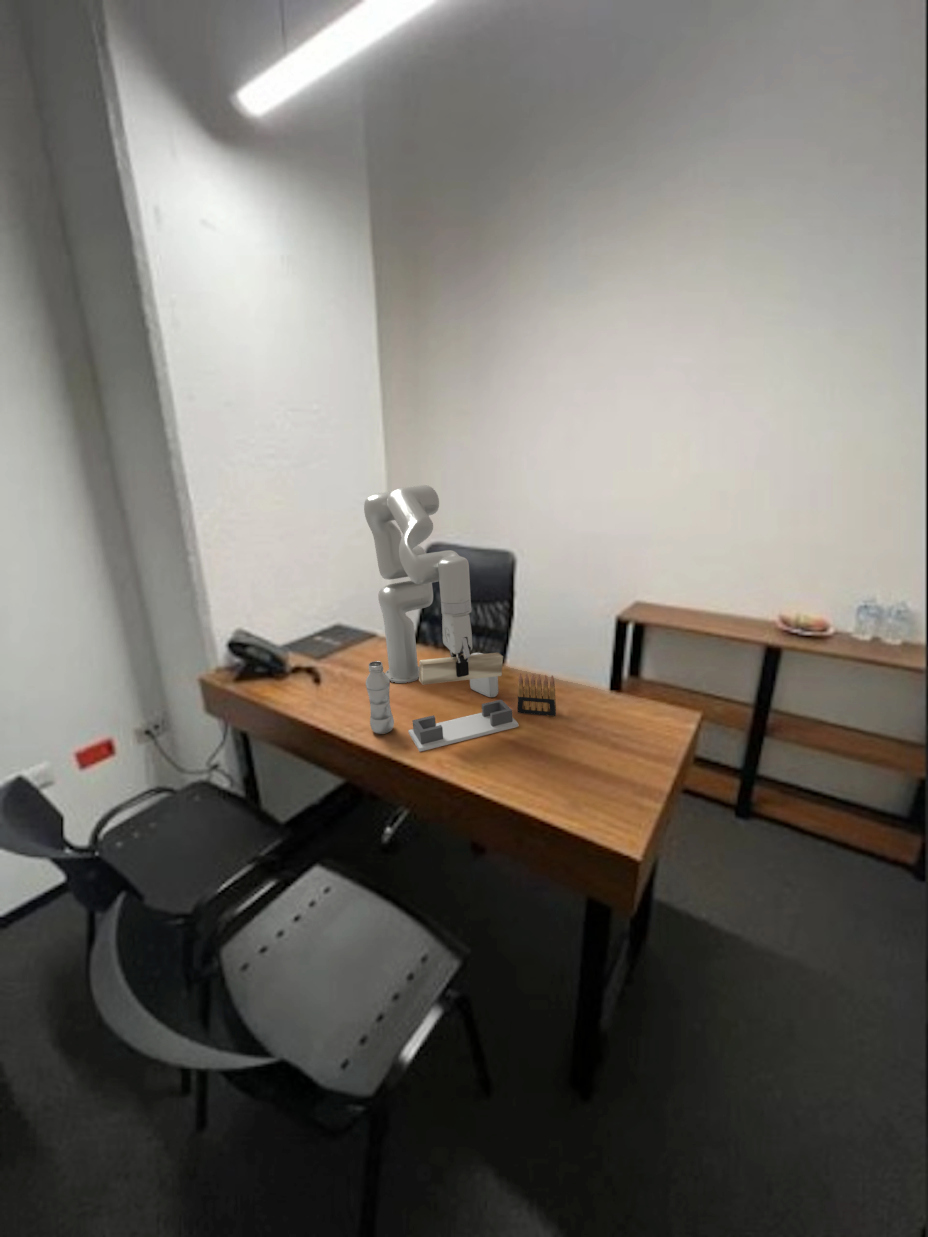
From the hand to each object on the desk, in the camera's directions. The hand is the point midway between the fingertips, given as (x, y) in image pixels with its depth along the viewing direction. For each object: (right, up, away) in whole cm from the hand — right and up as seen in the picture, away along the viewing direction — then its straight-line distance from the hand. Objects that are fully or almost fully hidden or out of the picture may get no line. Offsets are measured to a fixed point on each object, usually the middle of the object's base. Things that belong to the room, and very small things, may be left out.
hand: (460, 672), depth 148 cm
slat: (0, -1, +1) cm, 1 cm away
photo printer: (+7, -9, +27) cm, 29 cm away
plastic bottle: (-21, -17, +8) cm, 28 cm away
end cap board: (+1, -16, +6) cm, 17 cm away
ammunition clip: (+22, -13, +12) cm, 28 cm away
